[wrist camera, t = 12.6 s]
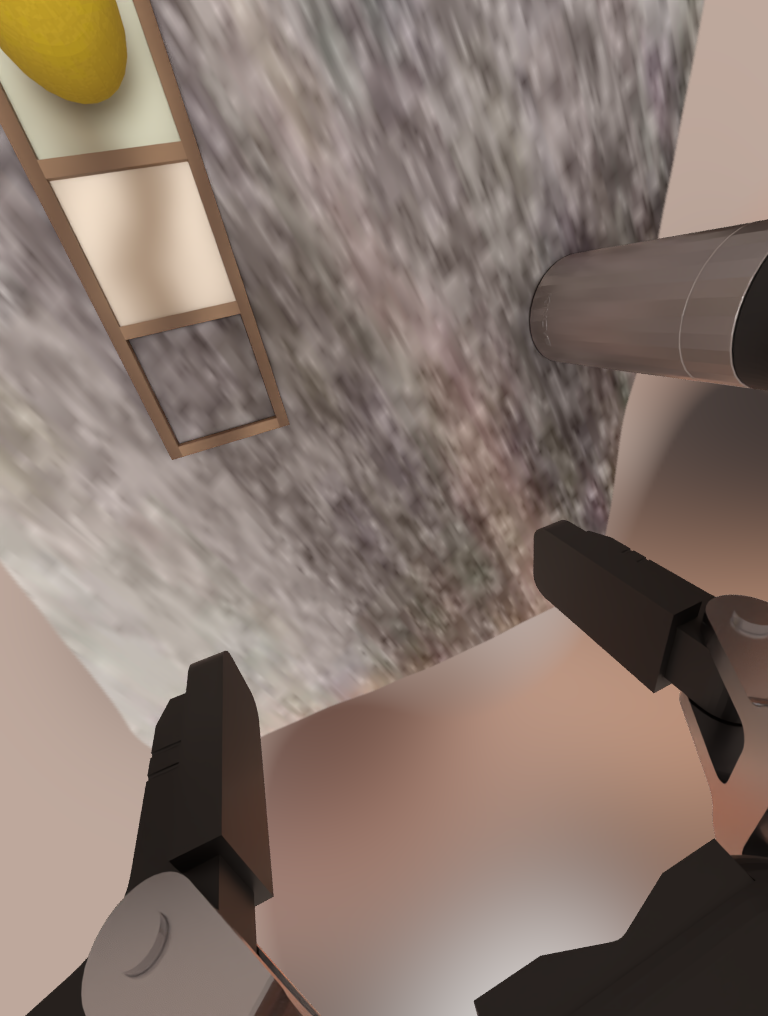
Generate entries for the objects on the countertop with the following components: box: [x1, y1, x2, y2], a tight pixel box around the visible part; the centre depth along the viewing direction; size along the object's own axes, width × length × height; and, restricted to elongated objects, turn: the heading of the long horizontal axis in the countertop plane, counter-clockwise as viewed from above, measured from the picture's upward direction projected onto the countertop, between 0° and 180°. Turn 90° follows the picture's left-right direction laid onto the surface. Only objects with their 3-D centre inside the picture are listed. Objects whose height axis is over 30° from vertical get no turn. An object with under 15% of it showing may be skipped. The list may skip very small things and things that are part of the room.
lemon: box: [0, 0, 127, 104], centre depth 17 cm, size 6×6×8 cm
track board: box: [0, 0, 290, 460], centre depth 25 cm, size 9×26×1 cm, turn 12°
